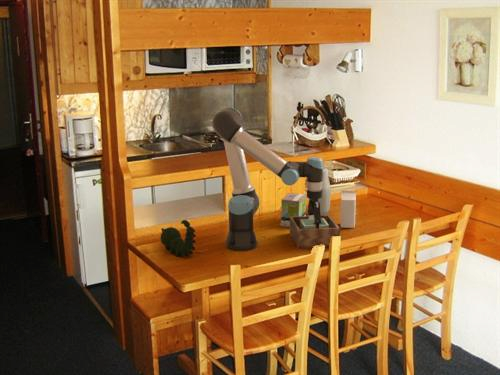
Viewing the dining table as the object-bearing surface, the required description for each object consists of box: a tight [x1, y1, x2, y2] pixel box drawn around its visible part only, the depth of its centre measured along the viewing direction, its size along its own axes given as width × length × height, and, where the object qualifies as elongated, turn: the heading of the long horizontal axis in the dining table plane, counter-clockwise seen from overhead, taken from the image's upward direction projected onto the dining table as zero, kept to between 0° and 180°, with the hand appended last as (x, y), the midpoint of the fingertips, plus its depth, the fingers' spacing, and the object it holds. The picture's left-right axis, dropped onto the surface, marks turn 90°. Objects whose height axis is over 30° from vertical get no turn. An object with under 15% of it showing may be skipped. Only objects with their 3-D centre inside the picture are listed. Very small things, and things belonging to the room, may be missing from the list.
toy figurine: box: [160, 219, 197, 258], centre depth 306 cm, size 9×19×25 cm
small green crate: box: [300, 218, 329, 229], centre depth 322 cm, size 12×11×8 cm
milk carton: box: [339, 190, 357, 229], centre depth 342 cm, size 7×7×19 cm
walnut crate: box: [289, 214, 341, 249], centre depth 322 cm, size 20×22×9 cm
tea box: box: [280, 192, 307, 228], centre depth 348 cm, size 15×10×15 cm, turn 161°
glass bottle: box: [317, 165, 332, 215], centre depth 359 cm, size 10×10×28 cm
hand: (314, 232), depth 322 cm, fingers open, 12 cm apart
